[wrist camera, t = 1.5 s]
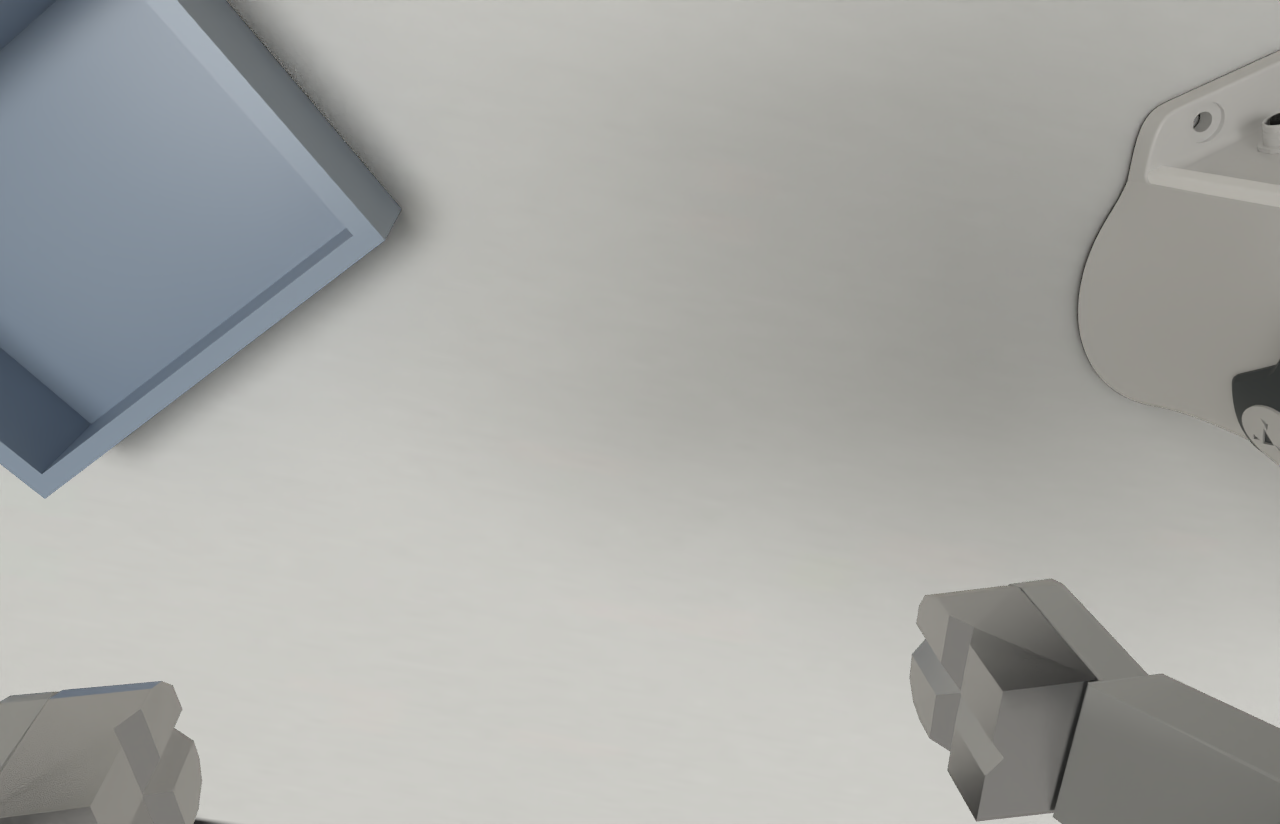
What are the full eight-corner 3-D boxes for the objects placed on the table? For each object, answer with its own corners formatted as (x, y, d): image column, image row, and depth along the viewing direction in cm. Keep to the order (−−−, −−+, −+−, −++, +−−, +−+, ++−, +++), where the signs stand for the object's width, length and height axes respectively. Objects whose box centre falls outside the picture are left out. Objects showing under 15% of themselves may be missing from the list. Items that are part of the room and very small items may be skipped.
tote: (138, -104, 31) (73, -120, 26) (401, 209, 36) (384, 239, 32) (-195, 194, 33) (-305, 225, 29) (99, 440, 39) (44, 498, 35)
